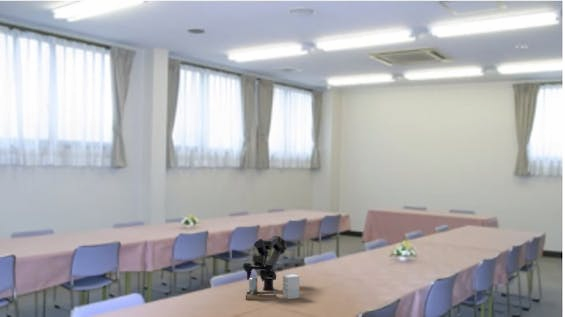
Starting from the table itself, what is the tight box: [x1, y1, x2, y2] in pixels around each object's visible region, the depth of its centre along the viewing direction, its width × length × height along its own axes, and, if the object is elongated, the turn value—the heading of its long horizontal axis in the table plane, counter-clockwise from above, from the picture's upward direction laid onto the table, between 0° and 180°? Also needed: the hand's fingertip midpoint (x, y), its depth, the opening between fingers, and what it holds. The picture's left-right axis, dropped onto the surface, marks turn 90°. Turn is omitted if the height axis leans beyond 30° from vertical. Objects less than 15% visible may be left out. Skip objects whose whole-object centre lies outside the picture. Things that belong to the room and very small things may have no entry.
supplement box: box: [282, 273, 300, 300], centre depth 296 cm, size 7×7×13 cm
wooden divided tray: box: [245, 290, 277, 301], centre depth 294 cm, size 9×17×2 cm, turn 94°
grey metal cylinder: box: [248, 276, 258, 295], centre depth 294 cm, size 5×5×10 cm
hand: (255, 280), depth 297 cm, fingers open, 9 cm apart
